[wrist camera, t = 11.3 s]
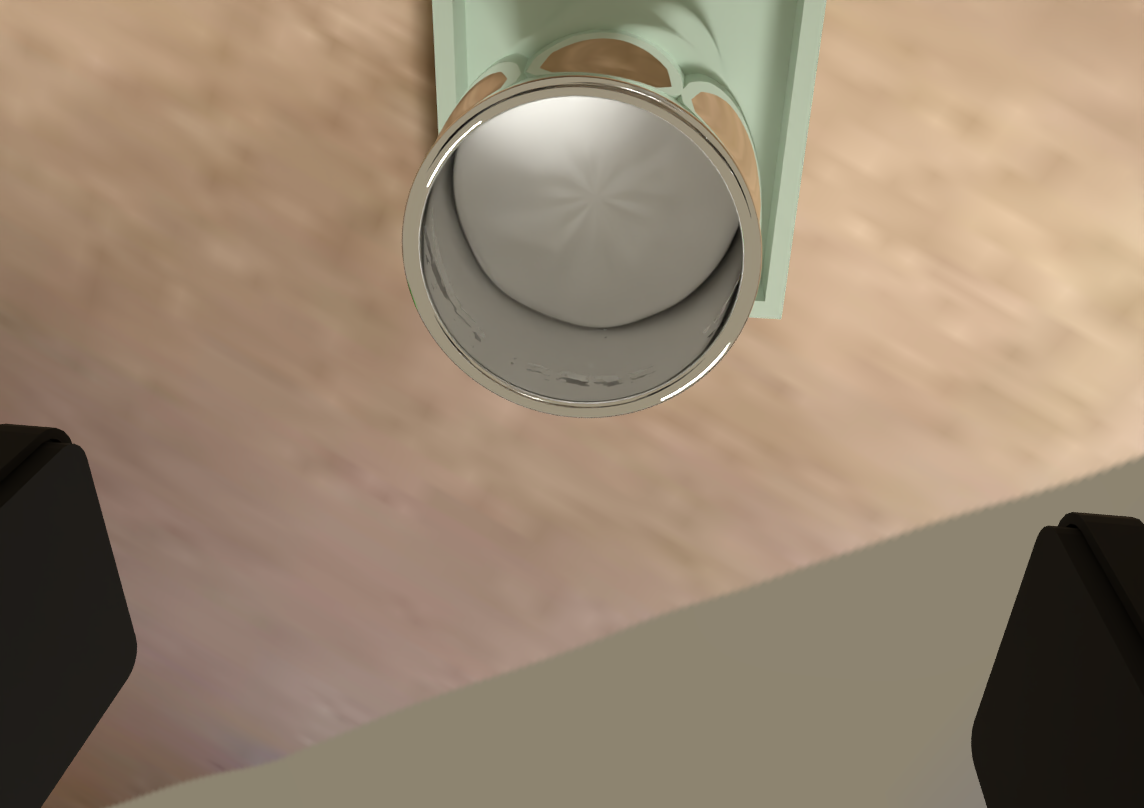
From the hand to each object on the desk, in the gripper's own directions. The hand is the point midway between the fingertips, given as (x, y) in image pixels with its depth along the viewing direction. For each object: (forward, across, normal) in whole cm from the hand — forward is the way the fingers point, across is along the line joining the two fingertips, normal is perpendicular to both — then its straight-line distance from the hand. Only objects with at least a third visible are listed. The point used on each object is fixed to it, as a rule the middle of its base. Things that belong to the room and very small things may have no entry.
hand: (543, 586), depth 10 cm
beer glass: (+24, +1, 0) cm, 24 cm away
